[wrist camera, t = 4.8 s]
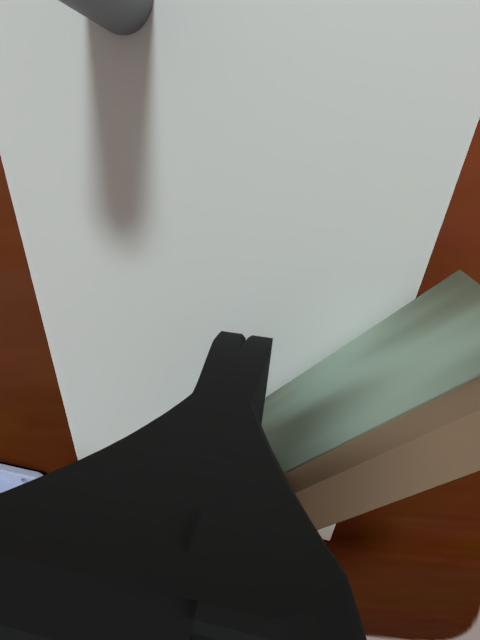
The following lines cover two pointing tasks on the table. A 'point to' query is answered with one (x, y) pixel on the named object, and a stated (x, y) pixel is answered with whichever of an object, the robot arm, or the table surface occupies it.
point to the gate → (385, 409)
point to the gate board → (225, 180)
